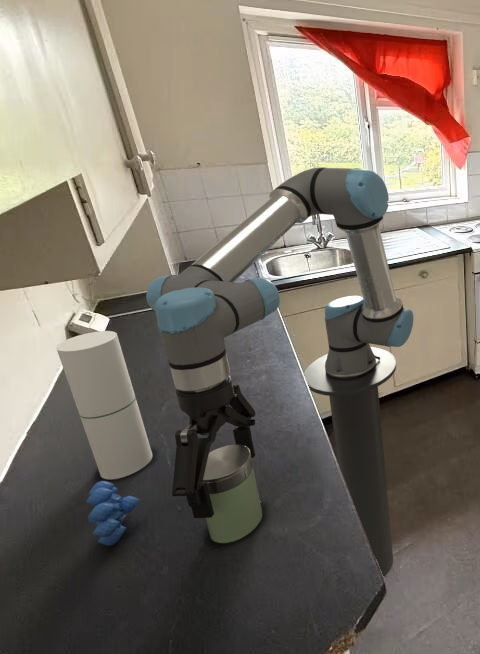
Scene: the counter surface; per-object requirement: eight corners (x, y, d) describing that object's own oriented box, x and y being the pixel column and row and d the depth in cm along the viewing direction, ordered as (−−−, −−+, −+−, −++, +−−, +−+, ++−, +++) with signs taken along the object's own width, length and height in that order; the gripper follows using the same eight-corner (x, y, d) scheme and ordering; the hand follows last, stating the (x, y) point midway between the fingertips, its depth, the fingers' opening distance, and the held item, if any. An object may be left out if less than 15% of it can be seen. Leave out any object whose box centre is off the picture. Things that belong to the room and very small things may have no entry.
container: (93, 468, 91) (49, 343, 81) (143, 445, 98) (107, 327, 88) (109, 485, 86) (64, 355, 77) (159, 459, 93) (124, 337, 84)
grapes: (149, 546, 74) (132, 492, 70) (96, 571, 70) (75, 515, 66) (145, 505, 82) (130, 454, 78) (98, 525, 78) (79, 472, 74)
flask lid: (251, 451, 81) (248, 438, 80) (254, 480, 74) (252, 466, 73) (197, 469, 76) (193, 456, 75) (195, 501, 70) (191, 487, 69)
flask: (260, 497, 84) (248, 441, 80) (264, 528, 78) (252, 469, 74) (209, 517, 80) (194, 459, 76) (209, 551, 73) (193, 490, 69)
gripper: (223, 345, 81) (242, 437, 87) (118, 432, 57) (155, 549, 64) (263, 345, 82) (280, 436, 88) (176, 430, 58) (207, 546, 64)
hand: (227, 484), depth 76 cm, fingers open, 13 cm apart
